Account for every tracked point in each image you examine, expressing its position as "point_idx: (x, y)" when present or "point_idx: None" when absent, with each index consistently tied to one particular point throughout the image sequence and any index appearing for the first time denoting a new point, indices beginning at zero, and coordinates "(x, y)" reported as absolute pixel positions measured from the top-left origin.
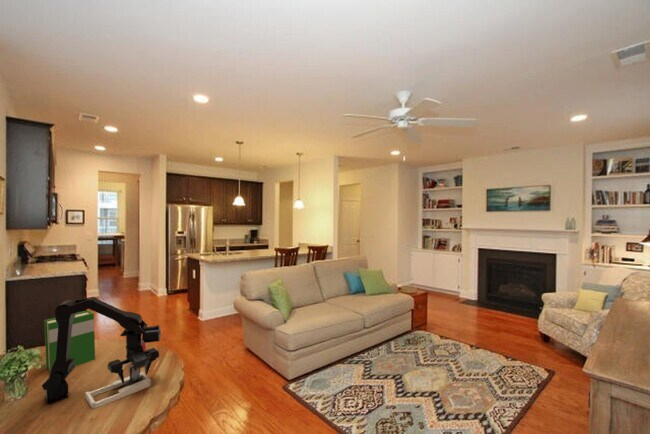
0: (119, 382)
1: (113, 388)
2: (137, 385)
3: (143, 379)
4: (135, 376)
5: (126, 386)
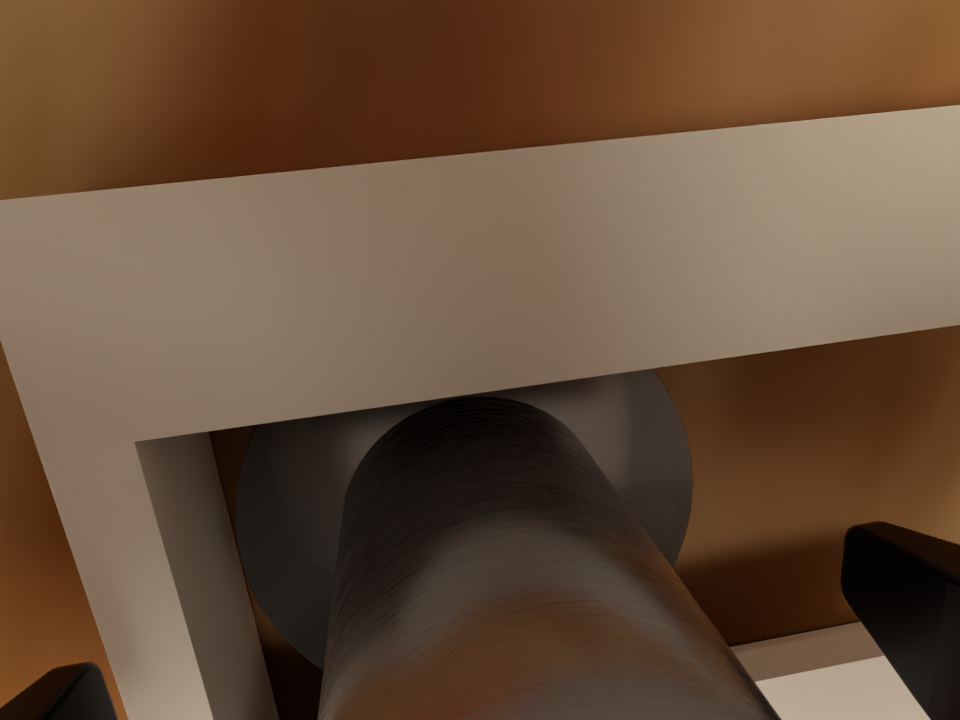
0: (830, 689)
1: (839, 629)
2: (504, 170)
3: (237, 614)
4: (562, 564)
5: (675, 502)
